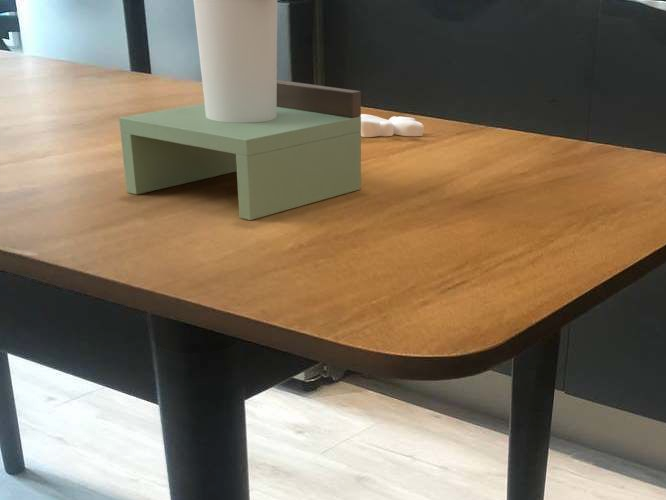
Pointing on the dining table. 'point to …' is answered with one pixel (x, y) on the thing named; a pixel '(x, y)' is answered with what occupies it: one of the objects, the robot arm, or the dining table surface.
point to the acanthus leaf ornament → (389, 126)
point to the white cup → (238, 58)
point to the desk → (253, 149)
